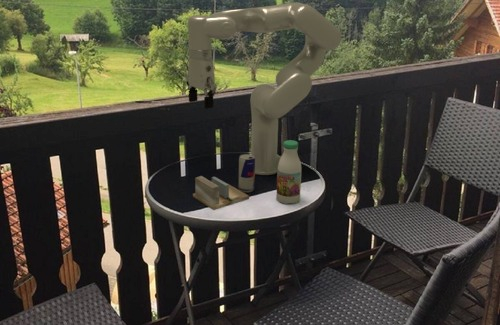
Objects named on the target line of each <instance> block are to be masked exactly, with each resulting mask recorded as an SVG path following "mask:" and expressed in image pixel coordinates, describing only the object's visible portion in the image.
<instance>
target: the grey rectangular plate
mask: <svg viewBox="0 0 500 325" xmlns="http://www.w3.org/2000/svg"><path fill="white" fill-rule="evenodd" d="M211 182H213V183H214V184H216V185H218V186H219V195H221V196H223V197H224V198H227V199H228V200H230V201H232V199H231V198H229V185H230V184H229V183H227V182H225V181H224V180H222V179H219V178H218V177H216V176H212V177H211ZM228 184H229V185H228Z"/></svg>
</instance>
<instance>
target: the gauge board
mask: <svg viewBox="0 0 500 325" xmlns="http://www.w3.org/2000/svg"><path fill="white" fill-rule="evenodd" d="M194 181H195V182H194V184H195V186H194V188H195V193H192V197H193V198H194V199H196V200H197V201H199V202H201V203H202V204H204V205H205V206H207V207H208V208H210V209H212V210H214V211H215V210H219V209H221V208H224V207H227V206H231V205H233V204H237V203H239V202H243V201H246V200H249V199H250V195H248V194H246V193H245V192H241V191H240V190H239V188H236V187H235V186H232V185H231V184H229V183H227V184H228V185H229V198H231V199H232V201H230V200H228V199H227V198H224V197H223V196H221V195H219V186H218V185H216V184H214V183H213V182H212V180H209V179H207V178H206V177H204V176H203V175H200V176H197V177H195V178H194Z"/></svg>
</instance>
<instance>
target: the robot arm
mask: <svg viewBox="0 0 500 325" xmlns="http://www.w3.org/2000/svg"><path fill="white" fill-rule="evenodd" d="M293 29H295V30H298V31H300V32H301V33H302V34H303V35H305V43H304V46H303V48H302V50H301V52H299V53H298V54H297V56H295V57H294V58H293V59H292V60H290V61H289V62H288V63H287V64H286V65H285V66H283V67H282V68H281V69H280V70H279V71H278V72H277V73H276V75H275V84H276V85H277V86H276V88H275V87H274V86H273V85H270V84H266V83H265V84H264V83H261V84H259V85H257V86H256V87H255V88H254V89H253V90H252V91H251V95H250V111H251V135H250V136H251V138H250V142H251V143H250V148H251V149H250V154H251V155H254V157H255V175H260V176H270V175H275V174H277V172H278V164H279V161H280V159H281V157H282V155H279V154H278V136H279V135H278V134H279V119H280V118H282V117H283V116H285V115H286V114H287V113H289V112H290V111H291V110H293V108H295V107H296V106H297V105H299V103H300V102H302V101H303V100H304V99H305V98H306V97H307V96H309V95H308V94H309V93H310V91H311V90H312V87H313V86H312V85H313V81H312V78H311V77H312V75H314V73H316V72H317V71H318V70H319V68H321V66H322V64H323V63H324V59H325V57H326V52H327V51H333V50H335V49H337V48H338V47H339V45H340V44H341V42H342V34H341V30H340V29H339V28H338V27H337V26H336V25H335V24H334V23H332V22H331V21H330V20H328V19H327V18H326V17H325V16H324V15H323V14H321V13H320V12H319V11H318V10H317V9H316V8H314V7H313V6H311V5H309V4H306V3H302V2H287V3H281V4H275V5H274V4H273V5H267V6H261V7H250V8H239V9H231V10H223V11H217V12H214V13H212V14H211V15H210V16H209V15H204V14H203V15H202V14H201V15H200V14H199V15H198V14H196V15H191V16H189V17H188V20H187V32H188V33H187V34H188V35H187V36H188V64H187V65H188V68H187V74H186V75H185V80H186V85H187V90H188V102H189V103H192V102H193V103H194V102H197V101H198V90H201V91H203V93H204V98H203V99H204V100H203V104H204V109H213V108H214V97H215V93H216V90H217V86H218V85H217V84H216V79H215V77H216V75H215V68H214V61H213V59H212V58H213V56H212V54H213V53H212V48H213V47H212V42H213V41H212V39H217V40H229V39H232V38H233V37H234V36H235V35H236V33H239V32H249V33H256V34H269V33H274V32H278V31H286V30H287V31H288V30H293Z"/></svg>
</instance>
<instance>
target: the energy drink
mask: <svg viewBox="0 0 500 325" xmlns="http://www.w3.org/2000/svg"><path fill="white" fill-rule="evenodd" d="M255 176H256V174H255V157H254V155H251V153H250V154H249V153H244V154H243V153H242V154H240V155H239V158H238V190H240V191H241V192H243V193H245V194H246V193H248V194H249V193H251V192H253V191H254V190H255V182H256V180H255Z"/></svg>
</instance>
